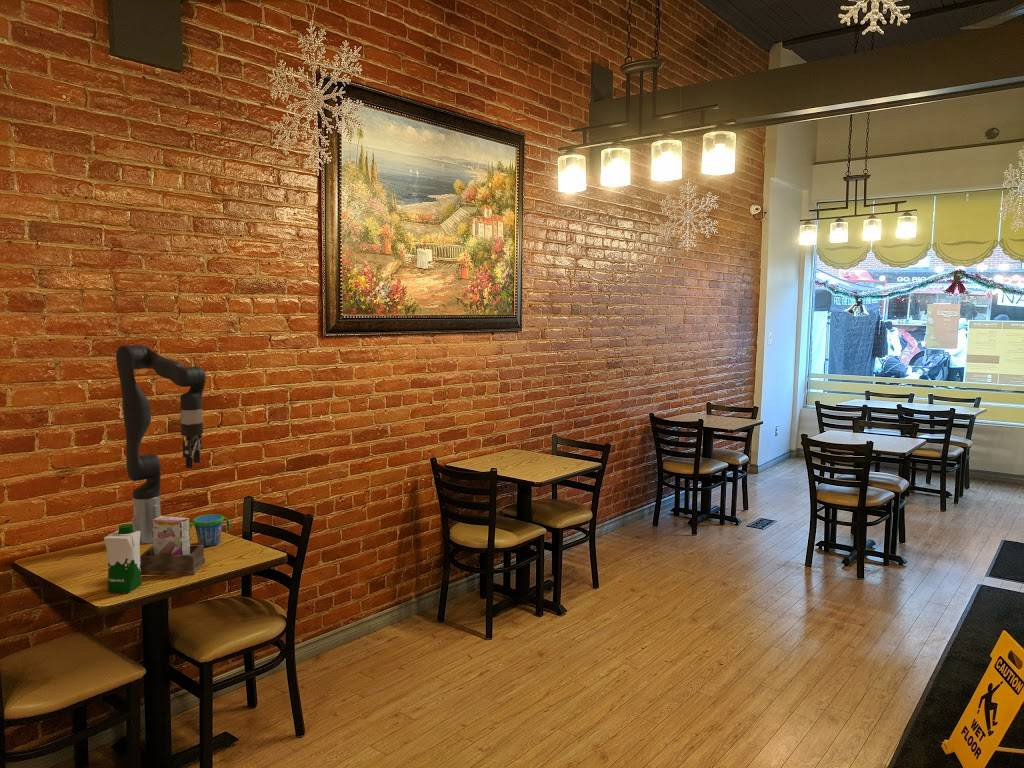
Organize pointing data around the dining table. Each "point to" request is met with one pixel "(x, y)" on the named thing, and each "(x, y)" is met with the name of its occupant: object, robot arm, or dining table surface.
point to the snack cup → (209, 528)
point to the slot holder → (172, 562)
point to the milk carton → (123, 559)
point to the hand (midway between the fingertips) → (193, 465)
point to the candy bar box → (171, 536)
